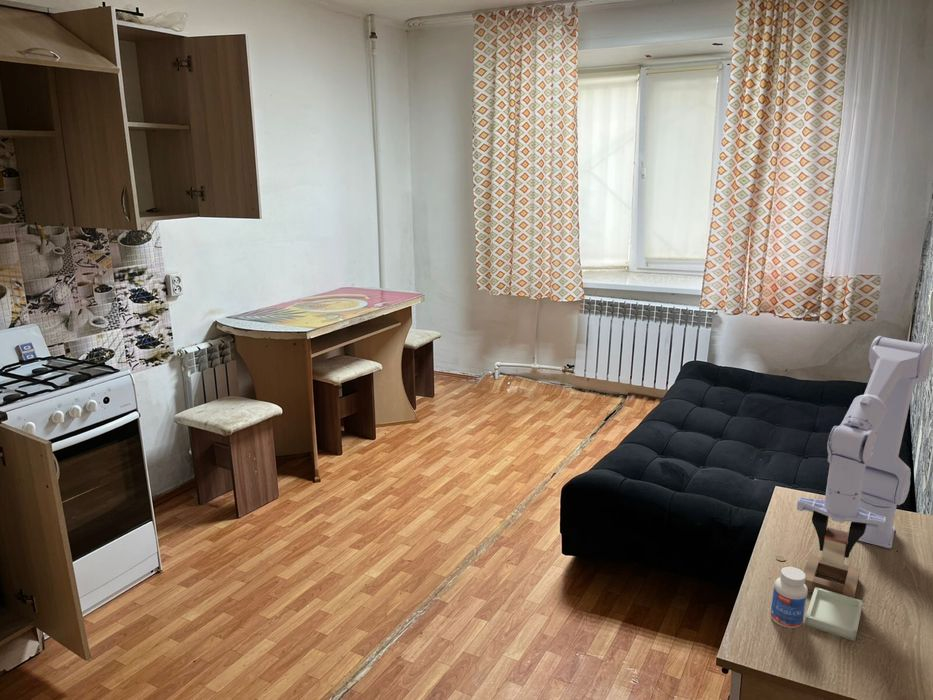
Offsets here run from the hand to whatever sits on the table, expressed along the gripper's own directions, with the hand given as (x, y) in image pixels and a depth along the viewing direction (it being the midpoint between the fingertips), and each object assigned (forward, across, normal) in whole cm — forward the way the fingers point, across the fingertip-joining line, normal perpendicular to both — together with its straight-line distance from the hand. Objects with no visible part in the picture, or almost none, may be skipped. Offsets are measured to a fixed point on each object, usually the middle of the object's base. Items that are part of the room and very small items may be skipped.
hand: (834, 551), depth 134 cm
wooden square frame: (+7, 0, 0) cm, 7 cm away
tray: (+7, +2, -10) cm, 13 cm away
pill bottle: (+8, -5, -15) cm, 18 cm away
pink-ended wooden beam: (+2, 0, 0) cm, 2 cm away
